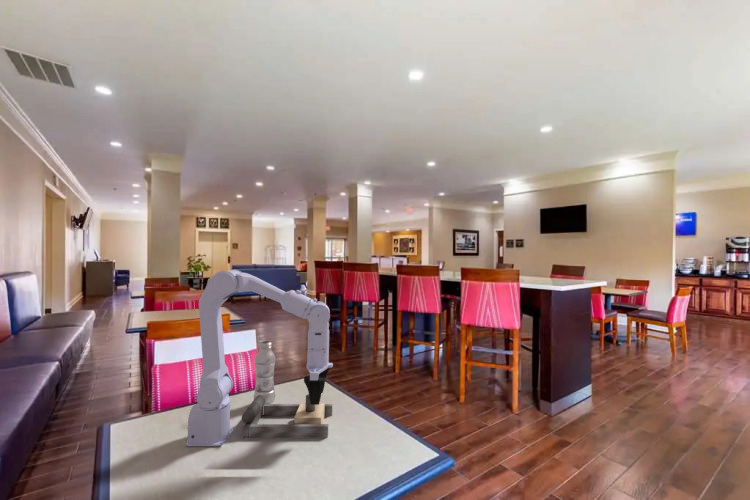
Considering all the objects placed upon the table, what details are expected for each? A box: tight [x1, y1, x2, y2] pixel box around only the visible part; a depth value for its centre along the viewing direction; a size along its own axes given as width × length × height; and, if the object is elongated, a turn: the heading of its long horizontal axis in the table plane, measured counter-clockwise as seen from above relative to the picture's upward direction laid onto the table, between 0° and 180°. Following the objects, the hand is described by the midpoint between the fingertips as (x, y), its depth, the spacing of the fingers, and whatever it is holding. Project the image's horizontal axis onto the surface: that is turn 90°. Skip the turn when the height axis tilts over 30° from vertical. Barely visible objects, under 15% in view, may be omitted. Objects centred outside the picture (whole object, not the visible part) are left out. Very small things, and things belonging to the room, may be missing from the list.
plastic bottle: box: [253, 340, 277, 406], centre depth 112 cm, size 6×7×20 cm
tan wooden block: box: [293, 393, 326, 424], centre depth 97 cm, size 7×9×8 cm
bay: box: [241, 395, 333, 439], centre depth 96 cm, size 23×14×7 cm, turn 92°
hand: (317, 398), depth 94 cm, fingers open, 7 cm apart
